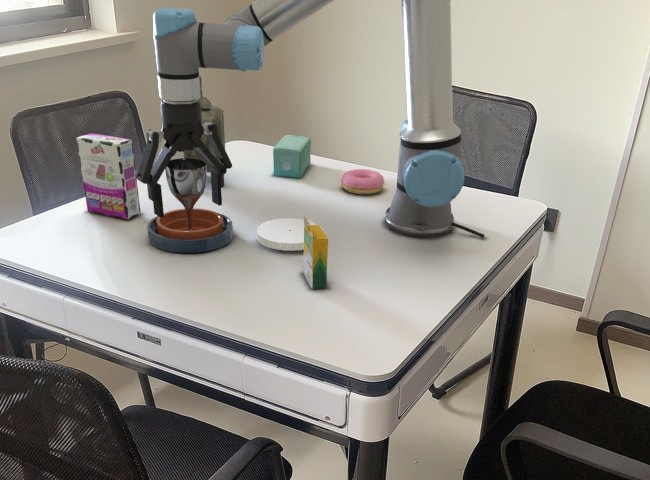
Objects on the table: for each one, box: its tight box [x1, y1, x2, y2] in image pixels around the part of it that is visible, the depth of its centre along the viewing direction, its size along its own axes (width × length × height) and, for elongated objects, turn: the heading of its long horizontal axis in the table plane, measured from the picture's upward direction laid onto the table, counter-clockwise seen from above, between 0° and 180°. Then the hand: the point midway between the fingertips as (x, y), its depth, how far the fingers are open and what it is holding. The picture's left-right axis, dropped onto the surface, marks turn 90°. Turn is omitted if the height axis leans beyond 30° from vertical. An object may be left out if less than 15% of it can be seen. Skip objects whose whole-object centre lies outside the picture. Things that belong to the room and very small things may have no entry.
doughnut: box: [340, 168, 385, 195], centre depth 182 cm, size 11×11×4 cm
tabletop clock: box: [182, 75, 226, 174], centre depth 176 cm, size 14×9×25 cm, turn 6°
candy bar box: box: [75, 133, 142, 221], centre depth 157 cm, size 11×5×16 cm, turn 68°
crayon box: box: [302, 216, 329, 290], centre depth 134 cm, size 7×3×12 cm, turn 17°
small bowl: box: [156, 208, 224, 239], centre depth 151 cm, size 13×13×4 cm
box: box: [272, 134, 312, 179], centre depth 192 cm, size 7×14×8 cm, turn 172°
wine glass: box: [164, 157, 207, 231], centre depth 147 cm, size 8×8×15 cm
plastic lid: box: [255, 217, 325, 252], centre depth 152 cm, size 14×14×2 cm
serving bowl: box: [146, 212, 234, 254], centre depth 151 cm, size 17×17×3 cm
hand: (188, 209), depth 148 cm, fingers open, 12 cm apart
